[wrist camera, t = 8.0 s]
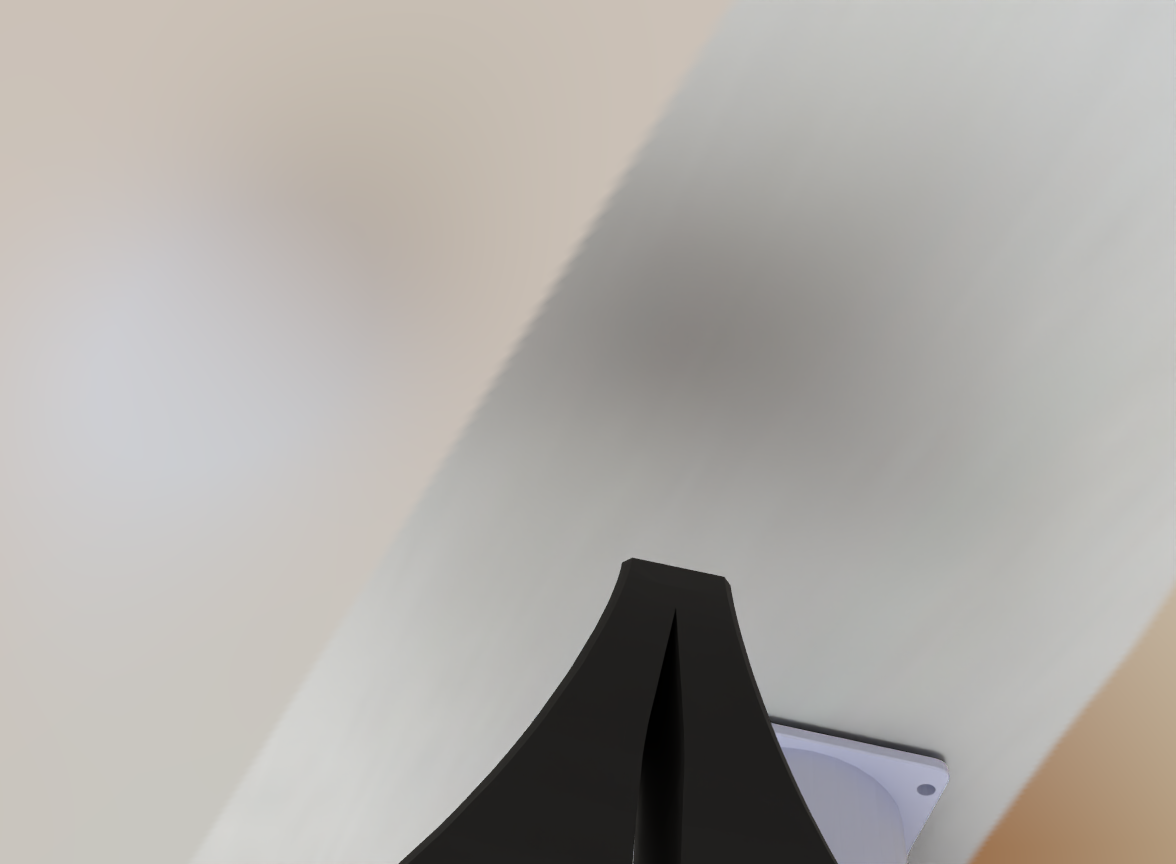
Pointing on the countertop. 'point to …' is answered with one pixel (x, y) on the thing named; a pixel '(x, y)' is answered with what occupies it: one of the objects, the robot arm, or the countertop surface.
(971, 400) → the countertop surface
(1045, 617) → the countertop surface
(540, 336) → the countertop surface
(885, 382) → the countertop surface
